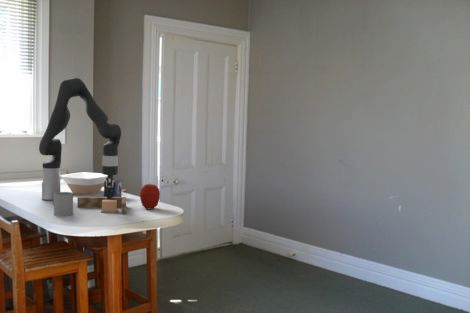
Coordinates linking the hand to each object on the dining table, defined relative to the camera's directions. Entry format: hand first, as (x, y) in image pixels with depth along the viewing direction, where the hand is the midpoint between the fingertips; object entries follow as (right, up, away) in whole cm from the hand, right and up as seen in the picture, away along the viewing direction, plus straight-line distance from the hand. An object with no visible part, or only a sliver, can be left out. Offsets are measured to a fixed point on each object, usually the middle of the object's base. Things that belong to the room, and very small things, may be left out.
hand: (109, 197), depth 252 cm
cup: (-19, -8, -10) cm, 23 cm away
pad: (0, -7, 0) cm, 7 cm away
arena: (-5, -7, +2) cm, 8 cm away
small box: (-7, -4, +37) cm, 38 cm away
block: (0, -7, 0) cm, 7 cm away
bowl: (-27, -2, +54) cm, 61 cm away
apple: (+18, -7, +10) cm, 22 cm away
